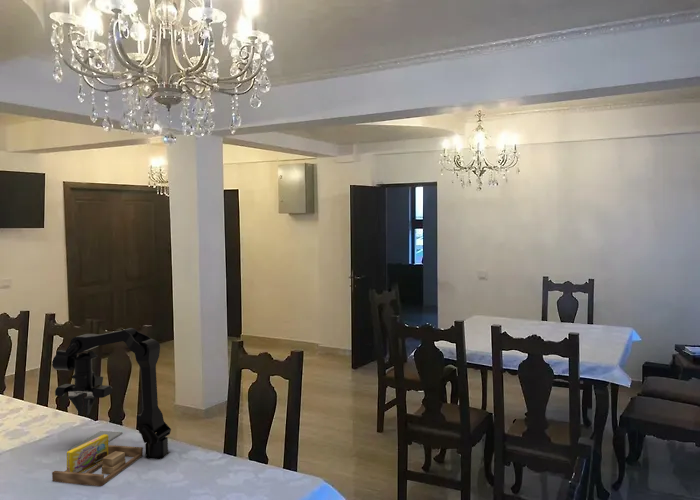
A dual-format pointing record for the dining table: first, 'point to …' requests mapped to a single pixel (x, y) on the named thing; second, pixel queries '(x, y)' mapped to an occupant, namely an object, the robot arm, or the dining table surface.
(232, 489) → the dining table surface
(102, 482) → the rack
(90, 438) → the pad
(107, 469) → the offcut lower
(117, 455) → the offcut upper
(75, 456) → the candy box
